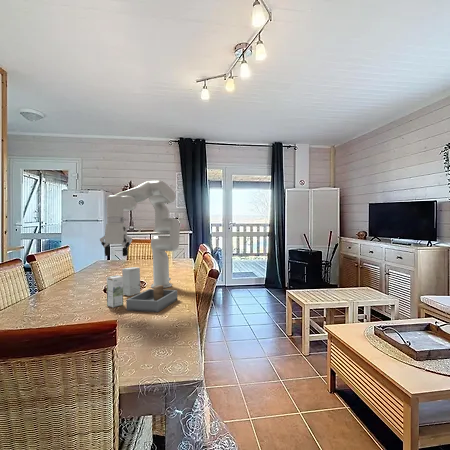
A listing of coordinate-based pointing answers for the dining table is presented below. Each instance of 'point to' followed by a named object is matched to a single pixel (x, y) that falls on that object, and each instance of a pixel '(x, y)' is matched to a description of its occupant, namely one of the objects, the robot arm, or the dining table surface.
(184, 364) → the dining table surface
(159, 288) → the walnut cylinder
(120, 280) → the syrup box
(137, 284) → the skincare box
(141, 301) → the tray
